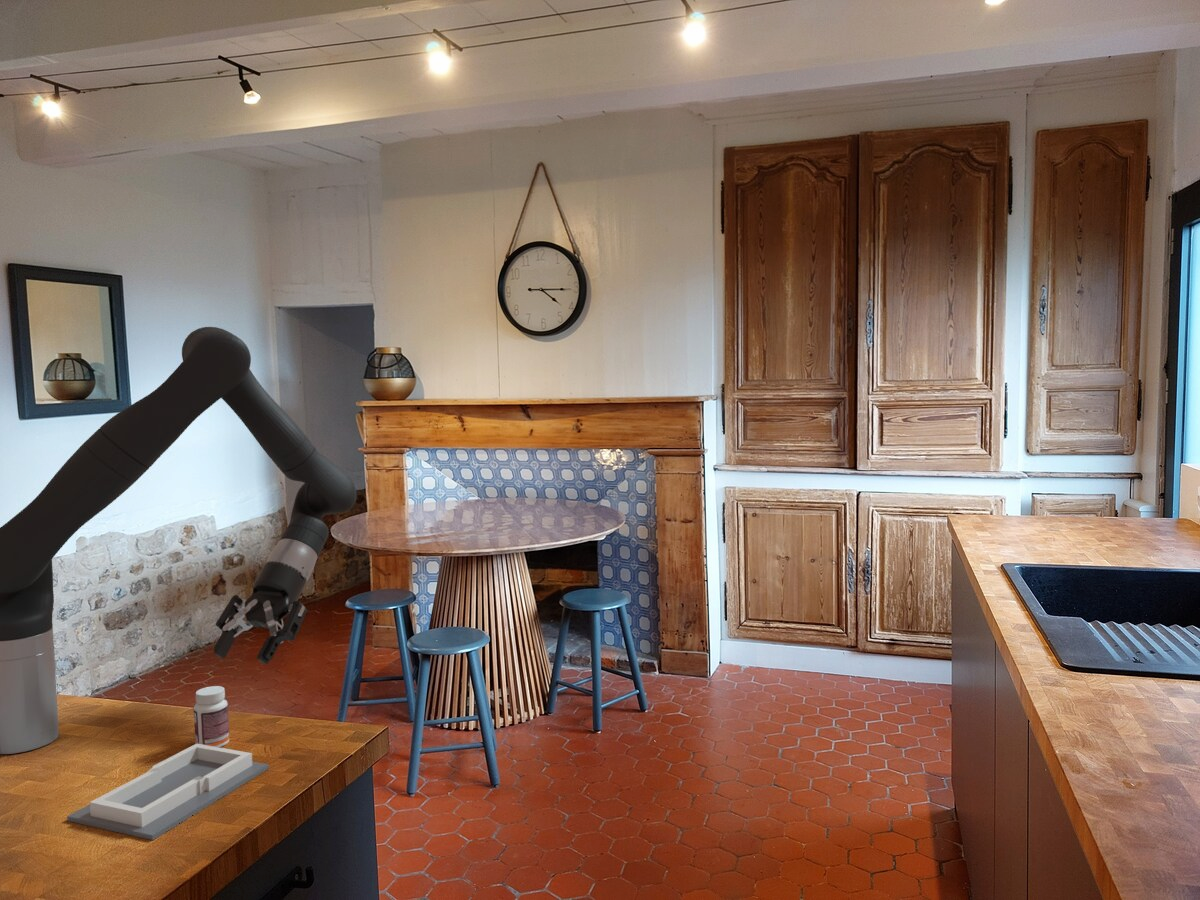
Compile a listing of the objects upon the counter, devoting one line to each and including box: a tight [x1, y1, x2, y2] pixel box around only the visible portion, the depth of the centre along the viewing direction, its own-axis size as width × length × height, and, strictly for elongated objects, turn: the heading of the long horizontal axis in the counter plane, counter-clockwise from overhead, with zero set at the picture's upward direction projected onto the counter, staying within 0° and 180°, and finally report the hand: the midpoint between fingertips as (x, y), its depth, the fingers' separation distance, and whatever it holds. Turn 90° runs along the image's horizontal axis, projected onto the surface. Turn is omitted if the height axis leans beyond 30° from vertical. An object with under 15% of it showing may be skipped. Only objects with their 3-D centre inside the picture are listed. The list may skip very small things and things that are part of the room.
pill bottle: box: [193, 685, 230, 748], centre depth 129 cm, size 5×5×8 cm
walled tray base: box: [66, 744, 270, 841], centre depth 114 cm, size 14×20×2 cm
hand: (240, 658), depth 135 cm, fingers open, 8 cm apart
